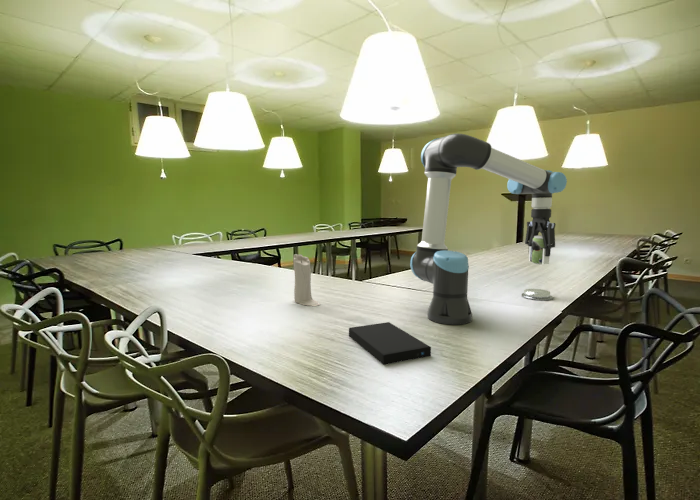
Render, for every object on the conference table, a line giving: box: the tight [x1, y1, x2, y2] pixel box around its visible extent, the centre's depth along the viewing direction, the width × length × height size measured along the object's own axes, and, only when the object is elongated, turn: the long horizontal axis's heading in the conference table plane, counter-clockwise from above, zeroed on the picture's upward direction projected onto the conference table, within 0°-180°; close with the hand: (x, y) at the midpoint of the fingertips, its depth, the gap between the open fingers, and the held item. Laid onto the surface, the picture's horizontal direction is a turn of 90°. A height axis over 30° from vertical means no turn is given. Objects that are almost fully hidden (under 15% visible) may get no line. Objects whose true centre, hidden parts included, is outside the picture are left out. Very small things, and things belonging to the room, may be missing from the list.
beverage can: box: [530, 234, 544, 265], centre depth 161 cm, size 6×7×12 cm
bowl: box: [521, 288, 553, 302], centre depth 163 cm, size 12×12×2 cm
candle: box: [293, 253, 321, 307], centre depth 157 cm, size 7×14×20 cm, turn 41°
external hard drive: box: [348, 321, 432, 366], centre depth 110 cm, size 14×23×3 cm, turn 23°
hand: (538, 262), depth 162 cm, fingers closed on beverage can, 7 cm apart
